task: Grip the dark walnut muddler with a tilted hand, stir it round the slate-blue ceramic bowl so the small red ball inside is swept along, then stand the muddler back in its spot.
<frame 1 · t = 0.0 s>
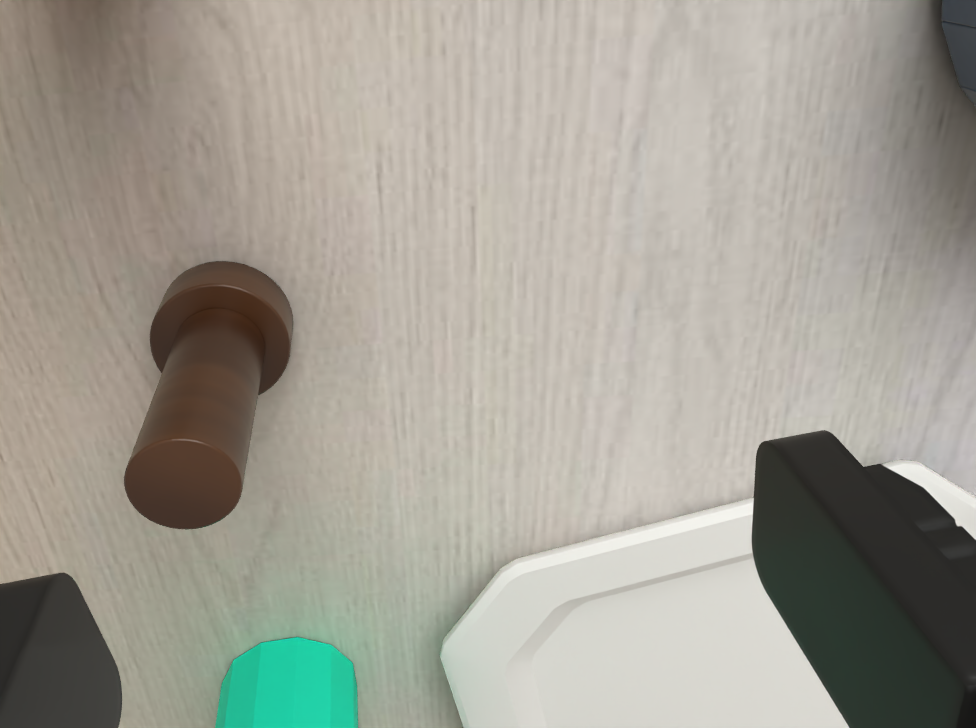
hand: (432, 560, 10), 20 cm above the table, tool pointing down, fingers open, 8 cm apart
plate: (710, 671, 42), on the table
candle: (290, 681, 38), on the table
muddler: (228, 319, 29), on the table
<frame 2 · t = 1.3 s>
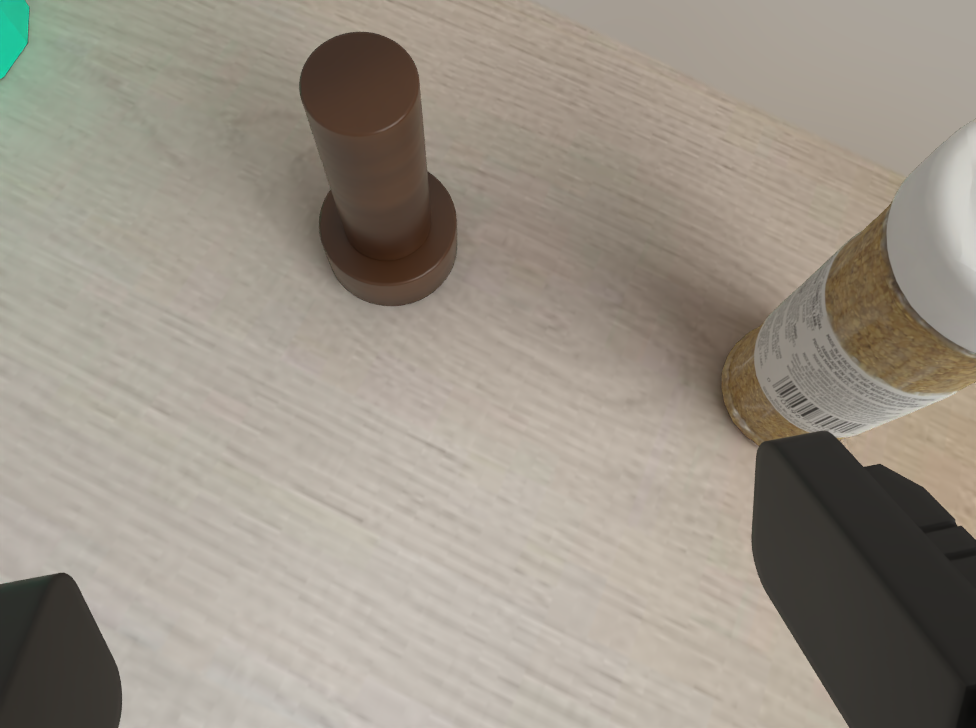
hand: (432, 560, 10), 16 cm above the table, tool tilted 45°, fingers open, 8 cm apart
sprinkles bottle: (782, 391, 28), on the table
muddler: (392, 246, 29), on the table
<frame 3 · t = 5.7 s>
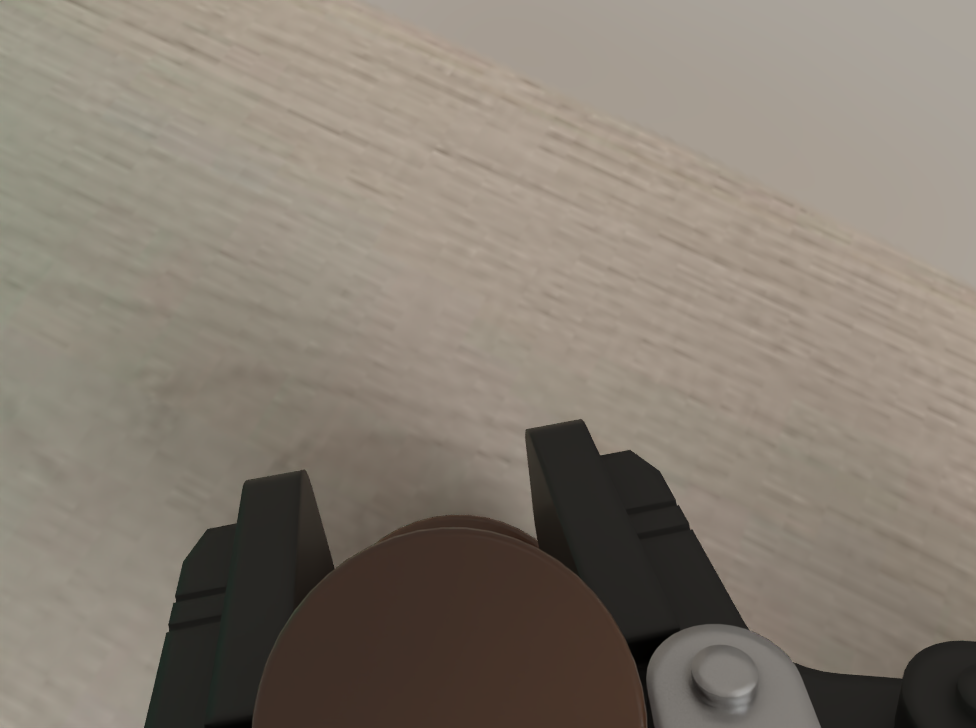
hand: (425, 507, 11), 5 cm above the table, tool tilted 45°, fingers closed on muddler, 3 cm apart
muddler: (458, 648, 15), on the table, touching gripper
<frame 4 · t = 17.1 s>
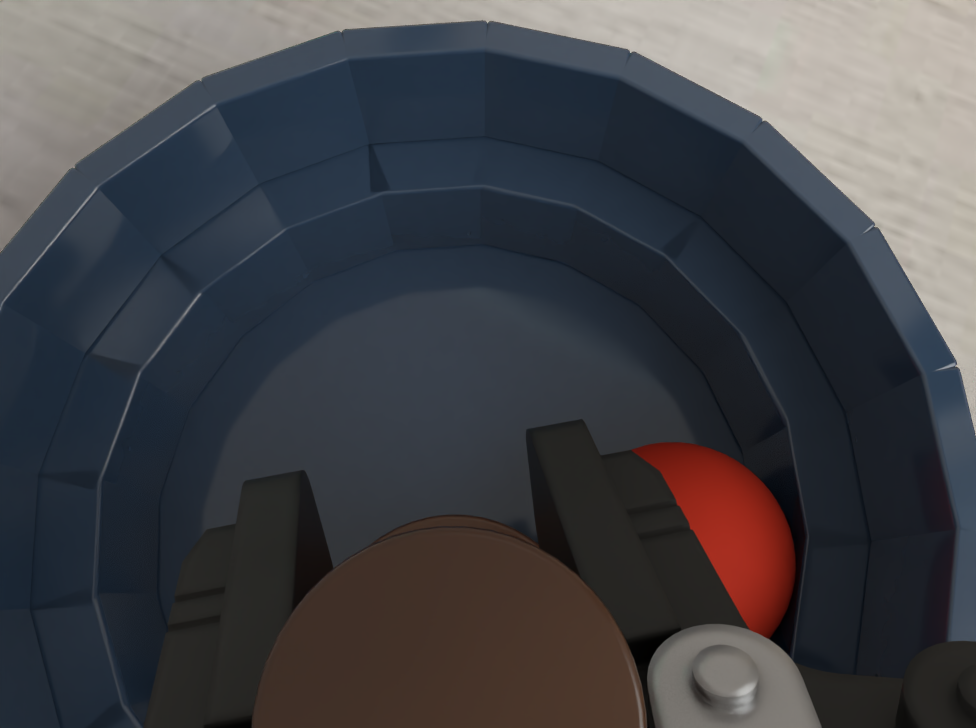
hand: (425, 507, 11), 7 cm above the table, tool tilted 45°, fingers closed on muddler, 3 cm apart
bowl: (457, 523, 17), on the table
ball: (674, 556, 15), point 3 cm above the table, tilted 11°, touching bowl, muddler
muddler: (454, 648, 15), point 2 cm above the table, touching ball, gripper
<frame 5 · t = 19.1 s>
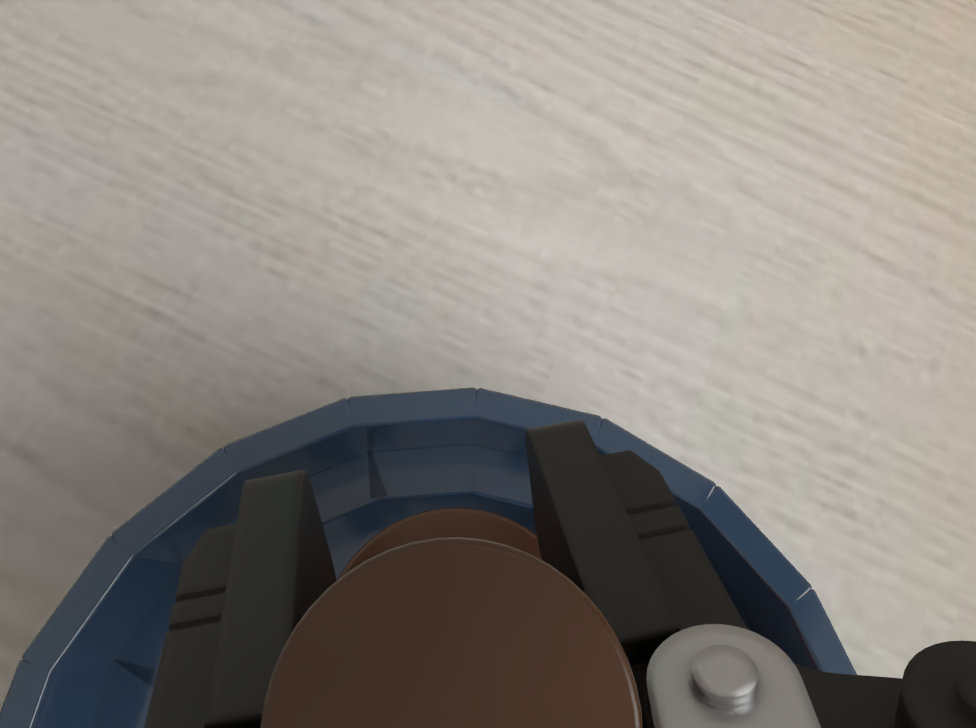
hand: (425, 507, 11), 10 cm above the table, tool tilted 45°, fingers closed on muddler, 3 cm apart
muddler: (456, 637, 15), point 5 cm above the table, touching gripper
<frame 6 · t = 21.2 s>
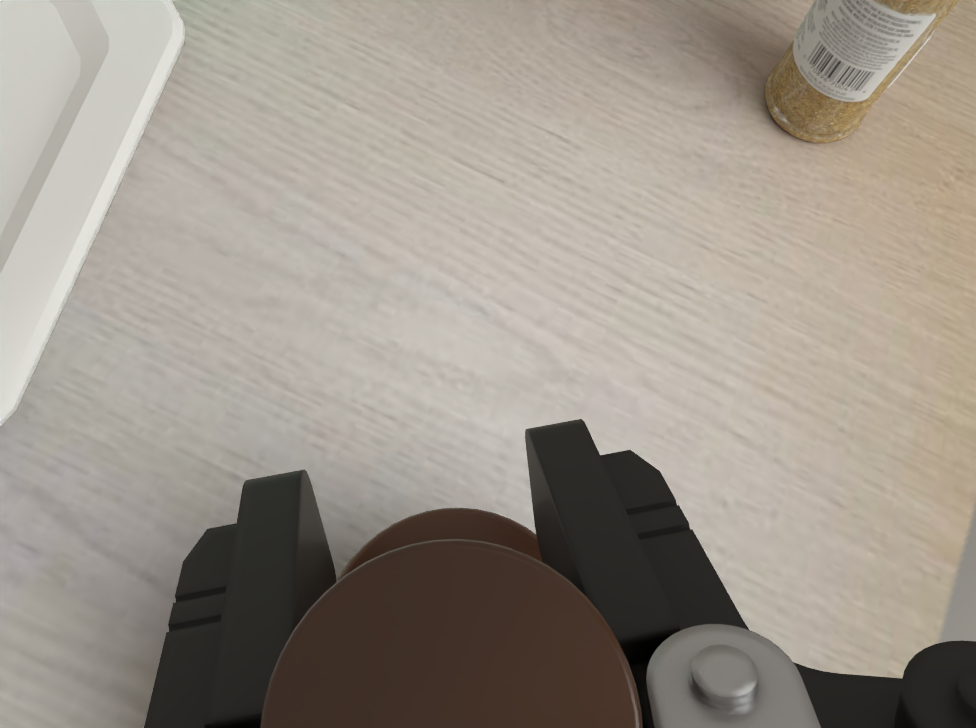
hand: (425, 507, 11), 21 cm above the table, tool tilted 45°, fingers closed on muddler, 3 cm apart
sprinkles bottle: (809, 104, 37), on the table
muddler: (456, 638, 15), point 16 cm above the table, touching gripper
when the fingers open (5 cm above the table, at t = 29.5 s): muddler stays where it is, on the table.
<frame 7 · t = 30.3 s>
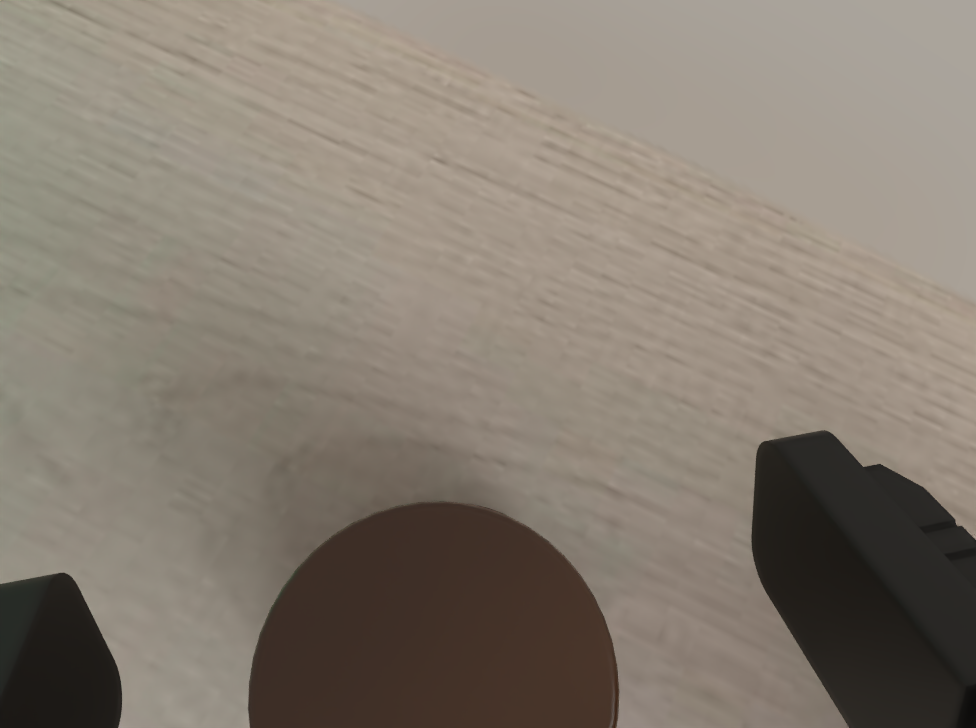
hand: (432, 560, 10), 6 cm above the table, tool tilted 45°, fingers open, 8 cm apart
muddler: (451, 634, 15), on the table
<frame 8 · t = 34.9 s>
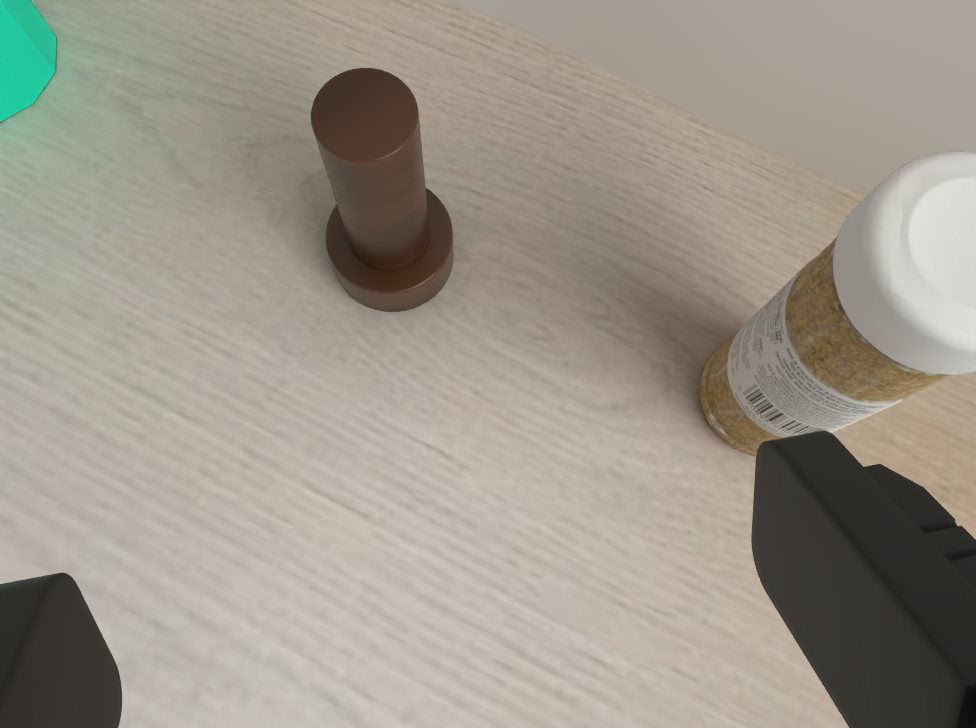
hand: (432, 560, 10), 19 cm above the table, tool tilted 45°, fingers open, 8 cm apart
sprinkles bottle: (756, 397, 30), on the table
muddler: (393, 256, 31), on the table
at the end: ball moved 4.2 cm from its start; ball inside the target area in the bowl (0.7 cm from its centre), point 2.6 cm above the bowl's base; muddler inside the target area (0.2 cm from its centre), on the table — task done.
